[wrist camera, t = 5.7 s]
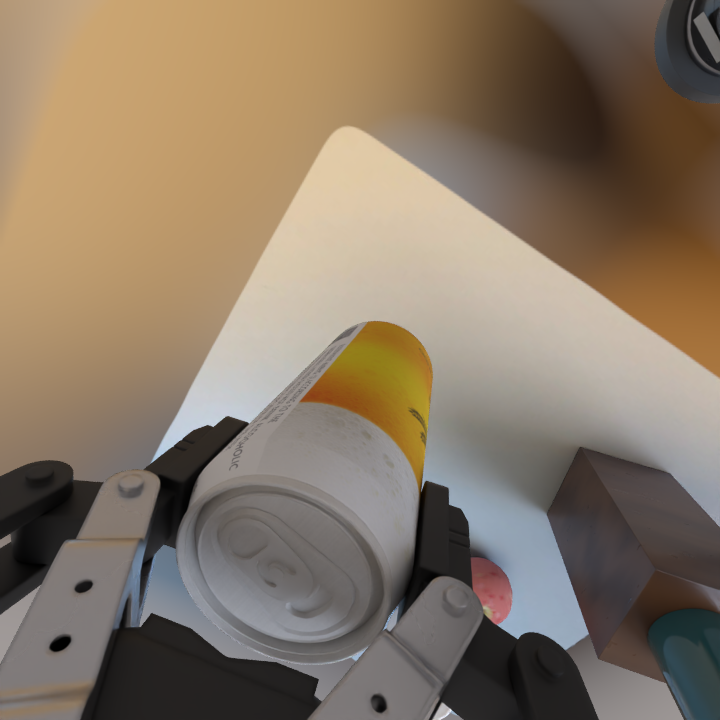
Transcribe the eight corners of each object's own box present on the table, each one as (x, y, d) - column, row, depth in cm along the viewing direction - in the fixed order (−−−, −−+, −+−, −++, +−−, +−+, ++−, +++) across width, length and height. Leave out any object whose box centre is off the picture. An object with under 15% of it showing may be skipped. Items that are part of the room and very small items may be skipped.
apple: (458, 536, 53) (460, 586, 46) (514, 554, 52) (525, 607, 45) (443, 578, 56) (443, 631, 48) (496, 595, 55) (504, 652, 47)
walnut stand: (580, 446, 46) (655, 569, 29) (670, 473, 45) (803, 617, 28) (546, 514, 50) (597, 659, 33) (630, 541, 49) (727, 705, 32)
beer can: (376, 435, 25) (284, 706, 11) (308, 363, 24) (116, 548, 10) (455, 376, 22) (468, 618, 8) (382, 295, 22) (268, 411, 8)
